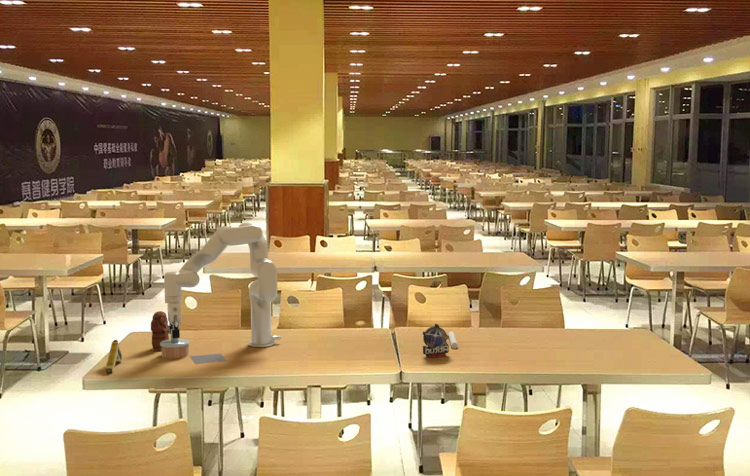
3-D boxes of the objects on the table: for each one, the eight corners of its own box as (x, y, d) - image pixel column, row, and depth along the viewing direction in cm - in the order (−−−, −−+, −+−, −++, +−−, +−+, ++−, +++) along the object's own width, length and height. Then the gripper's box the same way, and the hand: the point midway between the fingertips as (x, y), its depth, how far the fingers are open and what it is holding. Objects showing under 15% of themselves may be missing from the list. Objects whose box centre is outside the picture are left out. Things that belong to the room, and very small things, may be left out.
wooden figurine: (163, 351, 389) (162, 314, 387) (150, 351, 390) (149, 313, 388) (172, 345, 401) (170, 309, 399) (159, 345, 401) (157, 308, 399)
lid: (186, 339, 389) (186, 325, 388) (191, 346, 377) (191, 330, 376) (158, 342, 384) (158, 327, 383) (162, 348, 372) (161, 333, 371)
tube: (448, 336, 418) (451, 349, 393) (448, 330, 417) (451, 342, 392) (454, 336, 417) (457, 349, 393) (454, 330, 417) (457, 342, 392)
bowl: (186, 351, 389) (185, 340, 388) (190, 357, 378) (190, 345, 377) (160, 354, 384) (159, 342, 384) (163, 360, 373) (163, 348, 373)
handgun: (122, 356, 373) (118, 336, 365) (115, 387, 358) (111, 368, 350) (116, 356, 372) (112, 337, 365) (109, 388, 357) (105, 368, 350)
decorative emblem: (446, 354, 381) (446, 322, 379) (448, 355, 379) (448, 323, 377) (422, 356, 377) (422, 324, 376) (424, 358, 375) (424, 325, 373)
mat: (220, 354, 384) (220, 353, 384) (226, 361, 371) (226, 360, 371) (190, 357, 379) (190, 356, 379) (195, 364, 366) (195, 363, 366)
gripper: (184, 301, 371) (185, 339, 373) (178, 295, 387) (179, 331, 389) (167, 302, 369) (168, 340, 371) (162, 296, 385) (163, 332, 387)
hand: (174, 335), depth 380 cm, fingers open, 9 cm apart
